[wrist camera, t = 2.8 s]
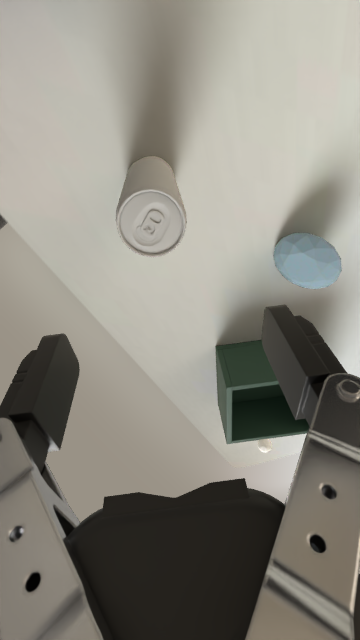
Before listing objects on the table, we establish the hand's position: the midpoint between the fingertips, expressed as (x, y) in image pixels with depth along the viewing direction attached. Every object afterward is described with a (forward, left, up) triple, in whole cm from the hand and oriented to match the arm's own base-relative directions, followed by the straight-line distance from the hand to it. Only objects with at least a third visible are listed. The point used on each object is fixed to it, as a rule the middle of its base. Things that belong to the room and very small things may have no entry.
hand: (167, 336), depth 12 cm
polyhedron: (+15, -52, -22) cm, 58 cm away
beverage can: (0, +1, -22) cm, 22 cm away
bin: (+13, -30, -22) cm, 39 cm away
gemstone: (+16, -9, -22) cm, 28 cm away
